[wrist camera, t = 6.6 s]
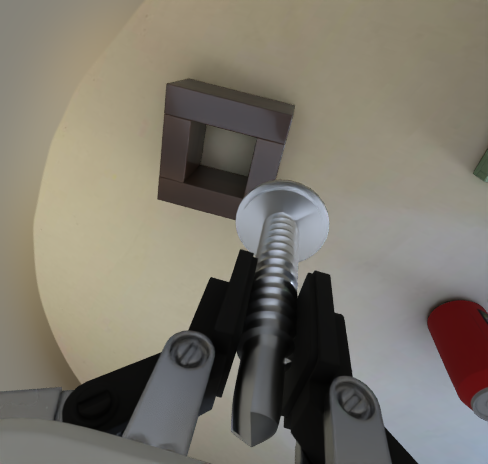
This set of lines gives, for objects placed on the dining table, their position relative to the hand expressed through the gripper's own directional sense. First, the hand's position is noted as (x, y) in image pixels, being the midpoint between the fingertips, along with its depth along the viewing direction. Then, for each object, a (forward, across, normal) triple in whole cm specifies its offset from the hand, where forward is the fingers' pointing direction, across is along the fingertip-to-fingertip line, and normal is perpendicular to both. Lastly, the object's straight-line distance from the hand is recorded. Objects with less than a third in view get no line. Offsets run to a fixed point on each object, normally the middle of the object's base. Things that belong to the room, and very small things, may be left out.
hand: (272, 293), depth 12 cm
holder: (+25, +6, +3) cm, 26 cm away
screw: (+8, 0, 0) cm, 8 cm away
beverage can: (+25, -26, +16) cm, 39 cm away
